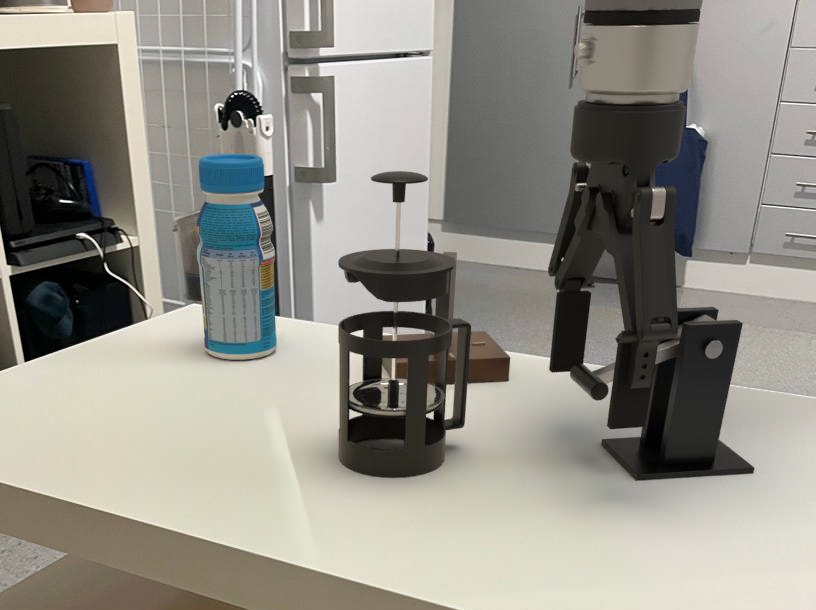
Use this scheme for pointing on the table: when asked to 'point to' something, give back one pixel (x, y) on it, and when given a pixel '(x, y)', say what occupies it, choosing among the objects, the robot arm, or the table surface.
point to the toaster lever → (598, 379)
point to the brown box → (483, 359)
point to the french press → (391, 397)
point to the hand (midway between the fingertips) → (593, 397)
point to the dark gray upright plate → (447, 295)
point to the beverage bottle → (236, 258)
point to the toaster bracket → (687, 407)
